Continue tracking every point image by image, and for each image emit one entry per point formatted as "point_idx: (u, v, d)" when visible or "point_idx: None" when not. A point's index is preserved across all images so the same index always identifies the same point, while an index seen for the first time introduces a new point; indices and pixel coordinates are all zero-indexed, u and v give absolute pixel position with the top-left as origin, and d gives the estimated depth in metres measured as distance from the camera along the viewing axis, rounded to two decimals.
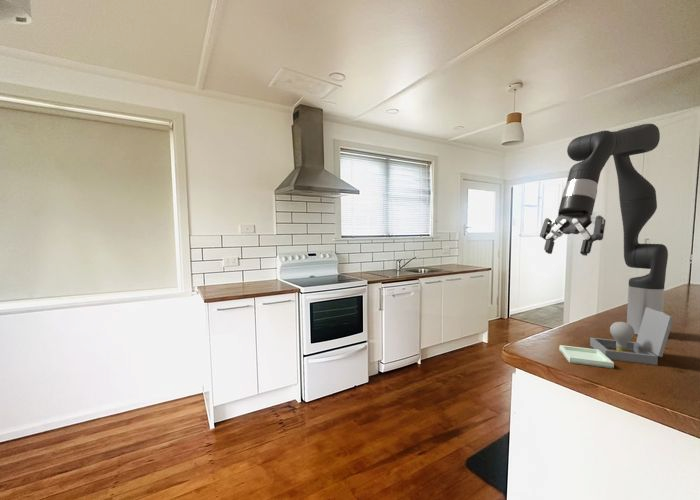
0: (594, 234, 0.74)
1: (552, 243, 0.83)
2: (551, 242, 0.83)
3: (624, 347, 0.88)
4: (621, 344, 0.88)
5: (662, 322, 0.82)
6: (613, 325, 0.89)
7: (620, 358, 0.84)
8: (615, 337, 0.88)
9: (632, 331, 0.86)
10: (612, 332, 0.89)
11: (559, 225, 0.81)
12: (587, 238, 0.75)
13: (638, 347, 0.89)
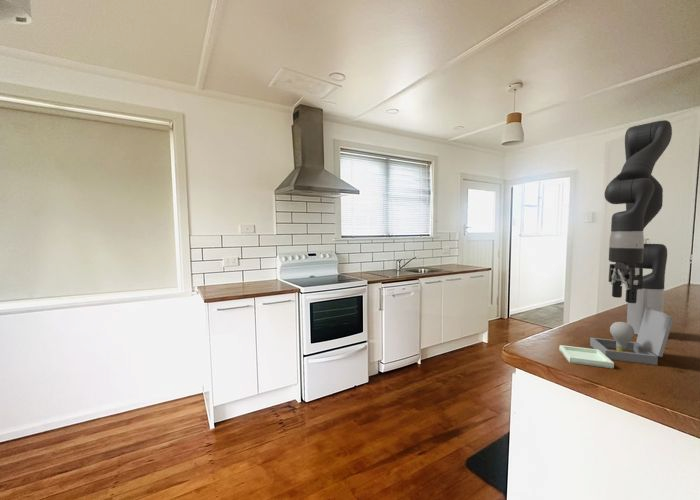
0: (629, 286, 0.82)
1: (618, 288, 0.91)
2: (616, 287, 0.92)
3: (624, 347, 0.88)
4: (621, 344, 0.88)
5: (662, 322, 0.82)
6: (613, 325, 0.89)
7: (620, 358, 0.84)
8: (615, 337, 0.88)
9: (632, 331, 0.86)
10: (612, 332, 0.89)
11: (614, 273, 0.90)
12: (627, 289, 0.84)
13: (638, 347, 0.89)
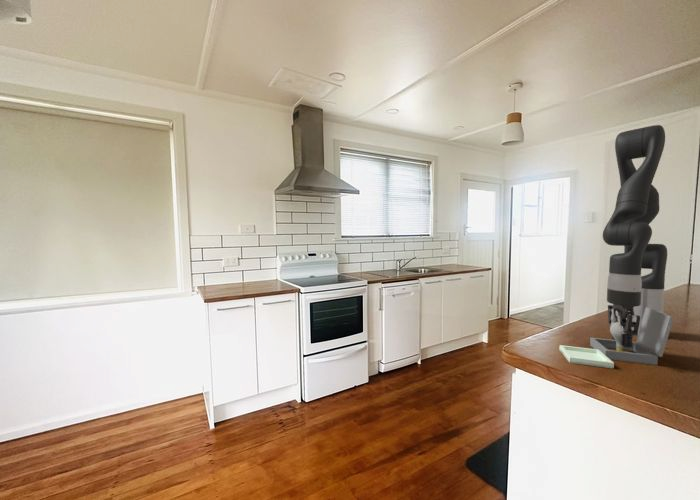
0: (625, 331, 0.84)
1: None
2: None
3: (624, 347, 0.88)
4: None
5: (662, 322, 0.82)
6: (613, 325, 0.89)
7: (620, 358, 0.84)
8: (615, 337, 0.88)
9: None
10: (612, 332, 0.89)
11: (612, 314, 0.91)
12: (622, 333, 0.86)
13: (638, 347, 0.89)
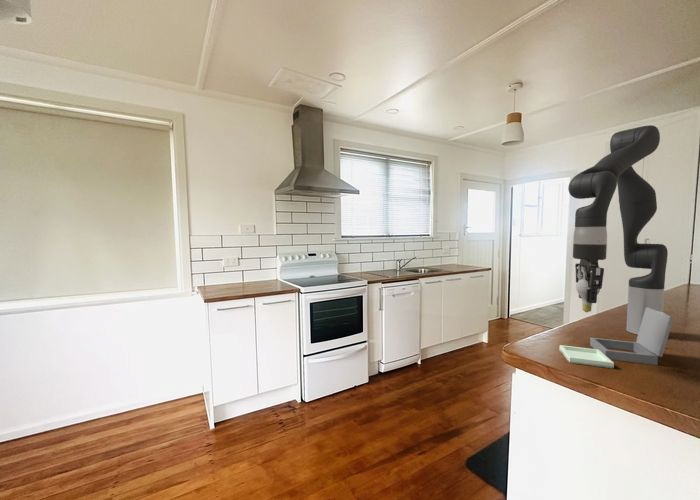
0: (589, 285, 0.80)
1: None
2: None
3: (590, 304, 0.84)
4: None
5: (662, 322, 0.82)
6: (579, 282, 0.85)
7: (620, 358, 0.84)
8: (581, 294, 0.84)
9: None
10: (578, 289, 0.85)
11: (579, 271, 0.87)
12: (587, 288, 0.82)
13: (638, 347, 0.89)
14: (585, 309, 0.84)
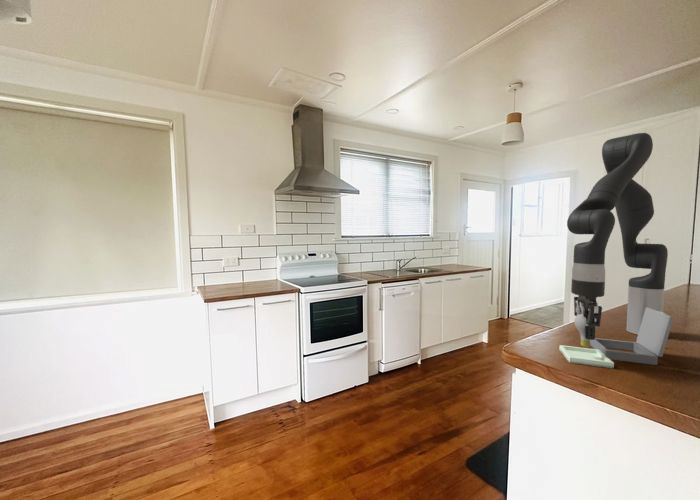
0: (587, 322, 0.81)
1: None
2: None
3: (588, 340, 0.84)
4: None
5: (662, 322, 0.82)
6: (577, 317, 0.86)
7: (620, 358, 0.84)
8: (579, 329, 0.85)
9: None
10: (576, 324, 0.85)
11: (577, 306, 0.87)
12: (585, 325, 0.82)
13: (638, 347, 0.89)
14: (583, 344, 0.85)
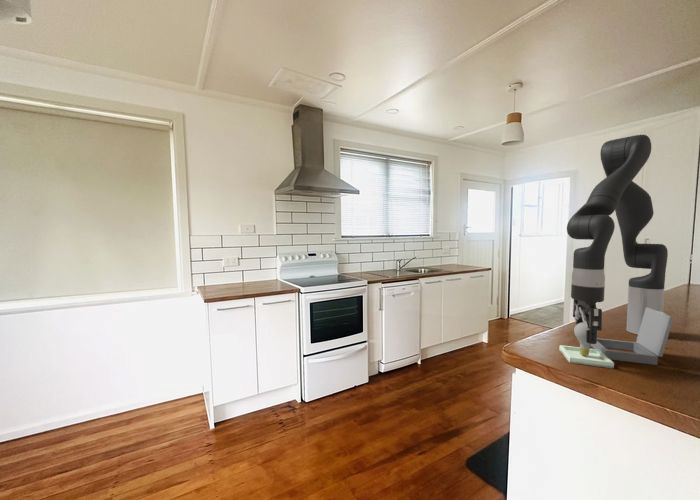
0: (589, 326, 0.80)
1: None
2: None
3: (587, 348, 0.85)
4: (584, 345, 0.85)
5: (662, 322, 0.82)
6: (577, 326, 0.86)
7: (620, 358, 0.84)
8: (578, 338, 0.86)
9: None
10: (576, 333, 0.86)
11: (576, 310, 0.88)
12: (587, 329, 0.81)
13: (638, 347, 0.89)
14: (582, 353, 0.86)
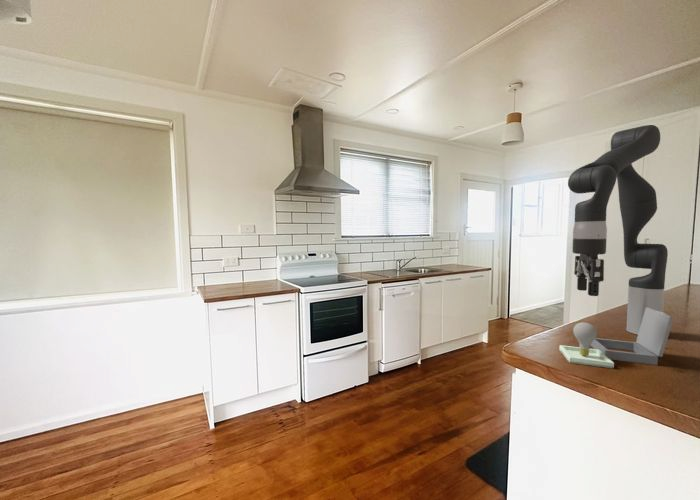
0: (590, 278, 0.79)
1: (583, 280, 0.88)
2: (581, 280, 0.88)
3: (587, 348, 0.85)
4: (584, 345, 0.85)
5: (662, 322, 0.82)
6: (576, 326, 0.86)
7: (620, 358, 0.84)
8: (578, 338, 0.86)
9: (594, 332, 0.83)
10: (575, 333, 0.86)
11: (578, 265, 0.87)
12: (589, 281, 0.80)
13: (638, 347, 0.89)
14: (582, 353, 0.86)
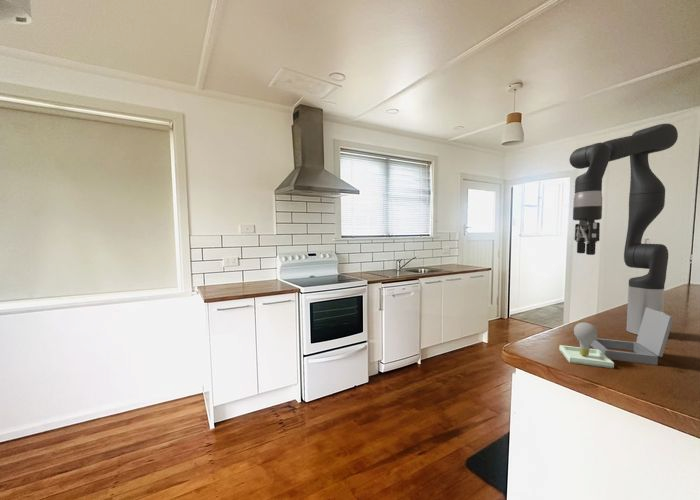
0: (588, 239, 0.93)
1: (582, 244, 1.02)
2: (580, 244, 1.02)
3: (587, 348, 0.85)
4: (584, 345, 0.85)
5: (662, 322, 0.82)
6: (577, 326, 0.86)
7: (620, 358, 0.84)
8: (578, 338, 0.86)
9: (594, 332, 0.83)
10: (575, 333, 0.86)
11: (577, 231, 1.01)
12: (587, 242, 0.94)
13: (638, 347, 0.89)
14: (582, 353, 0.86)
